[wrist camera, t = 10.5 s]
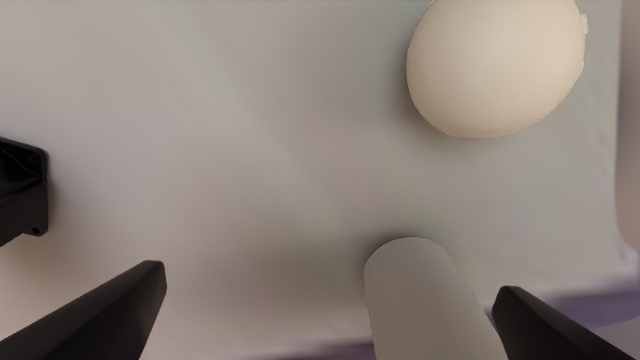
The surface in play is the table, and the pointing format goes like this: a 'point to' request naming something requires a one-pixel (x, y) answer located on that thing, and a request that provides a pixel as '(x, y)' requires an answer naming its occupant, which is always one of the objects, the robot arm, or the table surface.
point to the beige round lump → (494, 63)
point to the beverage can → (425, 306)
